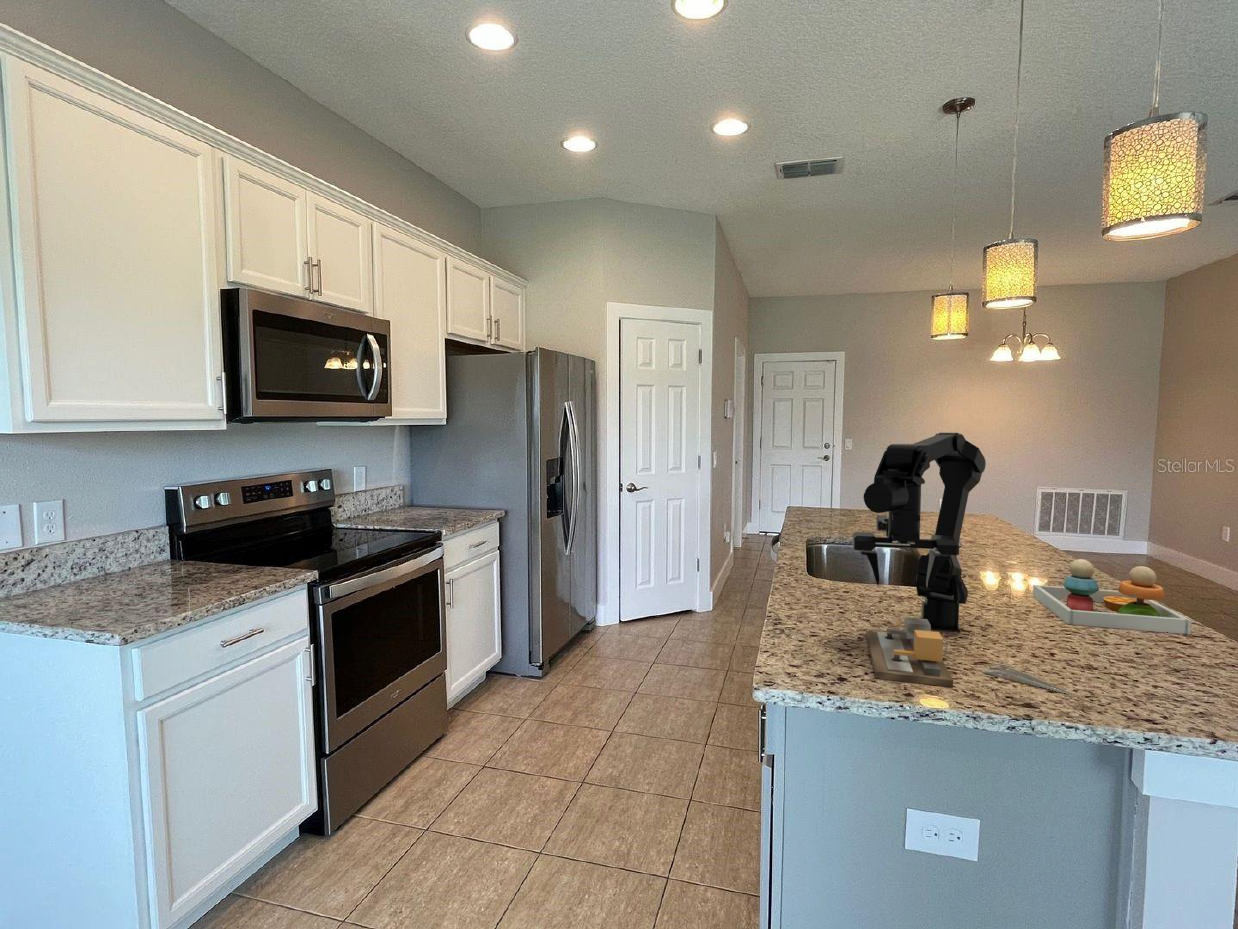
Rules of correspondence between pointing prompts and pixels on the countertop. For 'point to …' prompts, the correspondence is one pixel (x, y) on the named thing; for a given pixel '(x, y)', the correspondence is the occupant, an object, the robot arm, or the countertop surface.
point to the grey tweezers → (1025, 678)
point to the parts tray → (1165, 623)
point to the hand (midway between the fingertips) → (902, 585)
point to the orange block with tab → (924, 646)
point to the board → (906, 665)
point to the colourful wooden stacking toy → (1136, 587)
